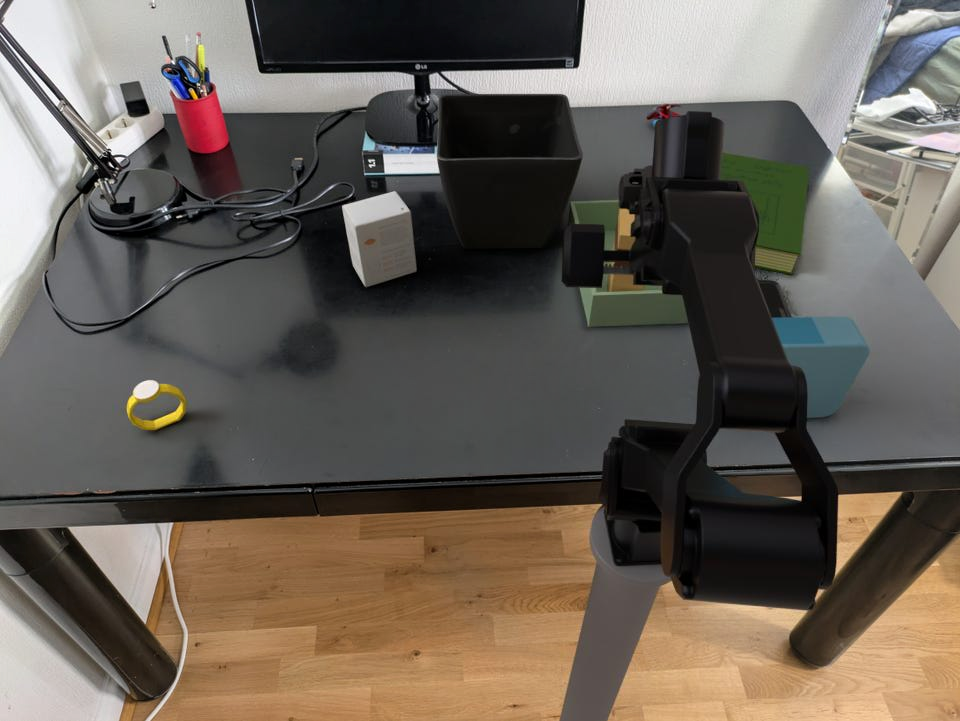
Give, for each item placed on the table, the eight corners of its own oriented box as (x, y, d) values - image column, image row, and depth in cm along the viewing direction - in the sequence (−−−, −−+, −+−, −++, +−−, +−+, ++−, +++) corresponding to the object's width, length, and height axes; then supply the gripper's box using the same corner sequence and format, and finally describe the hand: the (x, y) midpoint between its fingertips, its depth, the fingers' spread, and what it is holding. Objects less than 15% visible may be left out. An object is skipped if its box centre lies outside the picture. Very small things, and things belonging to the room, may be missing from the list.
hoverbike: (666, 119, 130) (671, 90, 126) (689, 151, 122) (696, 121, 118) (639, 122, 130) (644, 93, 125) (661, 154, 121) (667, 124, 117)
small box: (403, 251, 102) (396, 189, 95) (417, 272, 99) (412, 210, 91) (351, 266, 100) (340, 204, 92) (364, 288, 96) (354, 226, 89)
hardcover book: (686, 167, 118) (691, 147, 116) (801, 187, 113) (809, 167, 111) (659, 250, 102) (663, 229, 99) (792, 278, 97) (800, 256, 95)
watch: (189, 404, 82) (172, 370, 78) (194, 421, 80) (177, 386, 76) (136, 424, 80) (116, 389, 76) (140, 440, 78) (120, 406, 74)
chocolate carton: (637, 318, 91) (654, 237, 82) (606, 316, 91) (619, 235, 82) (636, 284, 96) (653, 204, 86) (607, 282, 96) (619, 202, 87)
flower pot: (558, 190, 113) (567, 90, 101) (572, 261, 100) (584, 156, 88) (443, 192, 113) (438, 93, 101) (442, 264, 100) (436, 159, 88)
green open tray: (687, 323, 91) (696, 291, 87) (588, 327, 91) (592, 295, 87) (652, 229, 106) (658, 198, 102) (566, 232, 105) (569, 201, 101)
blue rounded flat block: (819, 389, 83) (858, 315, 74) (833, 418, 80) (876, 344, 71) (720, 390, 83) (747, 317, 74) (730, 420, 80) (760, 346, 71)
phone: (742, 355, 85) (721, 278, 95) (739, 361, 86) (719, 284, 96) (807, 358, 85) (779, 280, 95) (804, 364, 85) (776, 286, 96)
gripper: (783, 160, 61) (728, 198, 77) (572, 155, 62) (560, 194, 78) (777, 285, 62) (724, 298, 77) (567, 278, 62) (556, 292, 78)
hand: (641, 268), depth 78 cm, fingers open, 9 cm apart
